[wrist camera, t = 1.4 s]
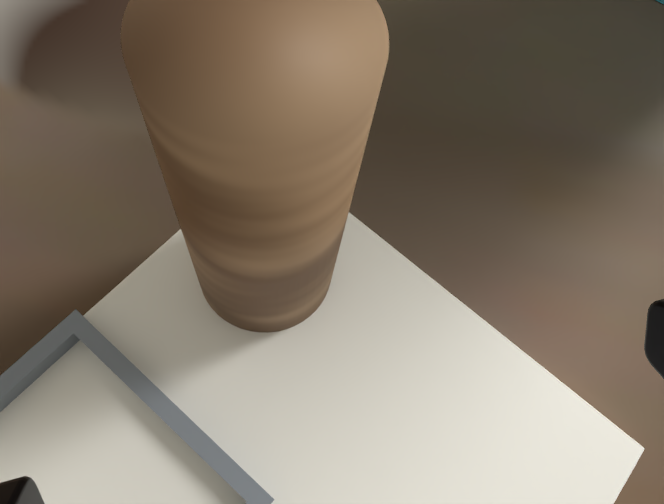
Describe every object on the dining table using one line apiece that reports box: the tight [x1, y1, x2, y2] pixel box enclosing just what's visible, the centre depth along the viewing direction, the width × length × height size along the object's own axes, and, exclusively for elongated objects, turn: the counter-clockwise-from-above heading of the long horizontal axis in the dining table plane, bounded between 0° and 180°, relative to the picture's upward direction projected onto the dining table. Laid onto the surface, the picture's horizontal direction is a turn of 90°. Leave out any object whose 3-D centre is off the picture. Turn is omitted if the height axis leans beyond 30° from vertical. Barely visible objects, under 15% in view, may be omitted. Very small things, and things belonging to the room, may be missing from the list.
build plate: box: [0, 213, 645, 504], centre depth 19 cm, size 18×19×2 cm
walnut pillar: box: [121, 0, 390, 333], centre depth 16 cm, size 5×5×12 cm
